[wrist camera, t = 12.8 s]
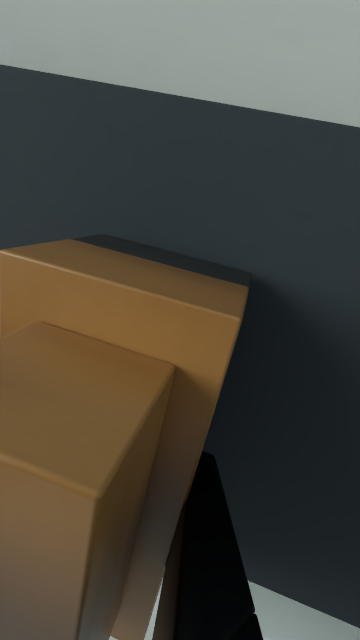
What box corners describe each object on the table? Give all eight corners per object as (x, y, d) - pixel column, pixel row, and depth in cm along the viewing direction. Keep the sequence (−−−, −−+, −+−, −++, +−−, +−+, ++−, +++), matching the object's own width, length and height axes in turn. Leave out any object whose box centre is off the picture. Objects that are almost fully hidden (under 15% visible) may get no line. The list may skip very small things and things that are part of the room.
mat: (399, 621, 11) (408, 650, 10) (-67, 427, 15) (-85, 438, 14) (740, 205, 6) (805, 204, 5) (-105, 53, 9) (-137, 39, 9)
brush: (177, 523, 11) (87, 833, 6) (73, 480, 12) (-98, 722, 6) (253, 272, 8) (216, 437, 2) (101, 232, 8) (-221, 282, 3)
